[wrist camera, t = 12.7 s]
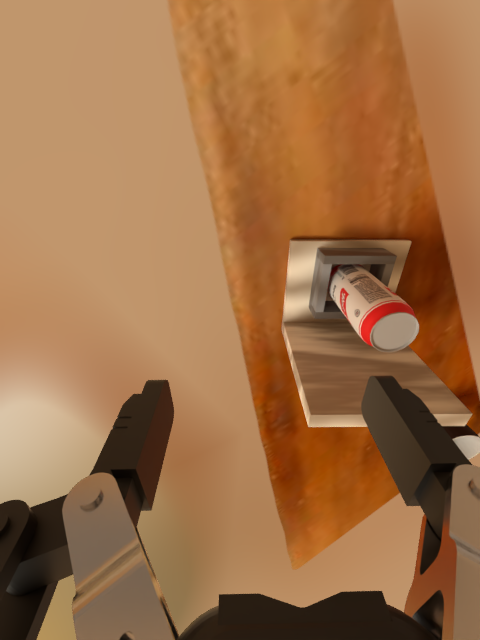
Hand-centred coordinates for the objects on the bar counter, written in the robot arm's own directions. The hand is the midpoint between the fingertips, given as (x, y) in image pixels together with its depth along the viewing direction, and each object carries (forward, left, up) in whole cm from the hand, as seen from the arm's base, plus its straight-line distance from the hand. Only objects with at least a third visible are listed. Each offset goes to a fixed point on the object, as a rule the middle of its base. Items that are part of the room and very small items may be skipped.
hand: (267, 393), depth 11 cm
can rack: (+10, +16, -33) cm, 38 cm away
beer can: (+8, +16, -33) cm, 37 cm away
